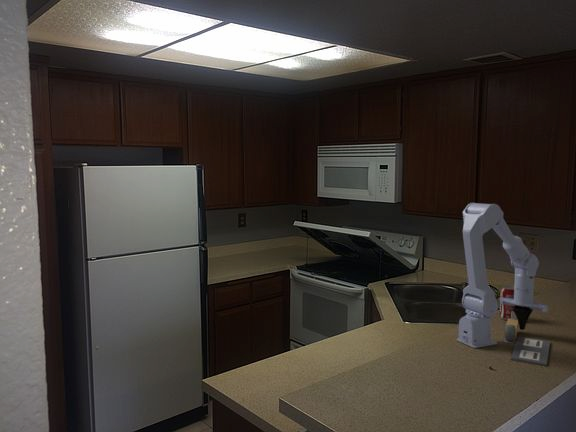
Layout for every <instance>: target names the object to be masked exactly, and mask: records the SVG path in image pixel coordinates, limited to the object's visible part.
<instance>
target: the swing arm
mask: <svg viewBox="0 0 576 432" xmlns="http://www.w3.org/2000/svg"><path fill="white" fill-rule="evenodd" d="M518 330H519V323H518V320H517V319H509V318H508V320H506V325H505V327H504V339H506V340H508V341H515V340H517V335H518V332H519V331H518Z"/></svg>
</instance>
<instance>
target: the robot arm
mask: <svg viewBox="0 0 576 432" xmlns="http://www.w3.org/2000/svg"><path fill="white" fill-rule="evenodd" d="M462 216H463V217H462V221H463V226H462V227H463V228H462V237H463V238H462V239H463V247H464V255H465V256H464V257H465V263H466V264H465V265H466V271H467V273H466V274H467V280H468V285H467V286H466V287H464V288H463V290H462V294H463V295H462V298H461V305H462V307H463V308H464V309H465V313H466V314H465V315H464V316H462V317H461V318H460V319H459V322H458V338H456V341H458V342H459V343H462V344H465V345H467V346H469V347H471V348H474V349H478V348H483V347H488V346H493V345H498V342H497V341H495V340H492V323H493V322H492V318H494V316H495V315H496V313H497V312H498V310H499V304H506V305H511V306H515V307H514V308H513V311H514V313H515V315H516V317H517V319H518V328H519V330H521V331H524V330H525V329H526V325H527V322H528V320H529V318H530V316H531V314H532V313H533V311H540V312H542V313H547V312H548V311H549V304H548V305H547V304H542V303H539V302H535V301H534V287H535V286H534V285H535V277H536V275H537V269H538V267H539V265H540V262H539V259H538V257H537V256H536V255H535V254H534V253H531V252H530V251H529V249H528V247H527V246H526V245H525V244H524V242H523V239H522V238H521V237H519V236H518V235H514V234H513V233H512V231H511V229H510V227H509V225H508V224H507V222H506V220H505V219H504V211H503V210H502V208H501V207H500V206H499V205H498V204H496V203H476V202H470V203H468V204H467V205H466V206H465V208H464V209H463V211H462ZM491 229H492V230H493V231H494V232H495V233H496V235H498V237H499V239H501V240H502V242H503V243H502V247H503V250H504V251H505V252H506V253H507V254H508V256H509V259H510V265H511V267H512V268H514V282H513V283H514V285H513V286H514V299H510V298H501V297H500V298H499V302H498V300H497V298H496V295H495V291H494V290H493V288H491V287H490V286H489V283H488V277H487V268H486V267H487V266H486V256H485V249H484V248H485V247H484V240H483V236H484V234H485V233H488V231H489V232H490V230H491Z"/></svg>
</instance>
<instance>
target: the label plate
mask: <svg viewBox="0 0 576 432" xmlns="http://www.w3.org/2000/svg"><path fill="white" fill-rule="evenodd" d="M502 341H503V342H504V343H506V344H512V345H514V344H515V345H514V349H513V351H512V354H511V356H510V361H515V362H522V363H527V364H533V365H538V366H545V367H547V366H548V359H549V354H550V353H549V352H550V347H551V346H550V345H551V341H550V340H545V339H544V340H543V339H539V338H538V339H537V338H532V337H524V336H518V337H517V339H515V341H508V340H506V339H505V338H503V340H502Z"/></svg>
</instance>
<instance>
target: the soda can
mask: <svg viewBox="0 0 576 432" xmlns="http://www.w3.org/2000/svg"><path fill="white" fill-rule="evenodd" d="M500 298H510V299H514V285H503V286H502V288H501V290H500ZM499 304H500V303H499ZM499 306H500V307H499V317H500V318H501V319H502V320H504V321H507V320H508V318H509V319H517V317H516V315H515V313H514V311H513V308H514V307H515V306H511V305H506V304H500V305H499ZM517 320H518V319H517Z"/></svg>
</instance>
